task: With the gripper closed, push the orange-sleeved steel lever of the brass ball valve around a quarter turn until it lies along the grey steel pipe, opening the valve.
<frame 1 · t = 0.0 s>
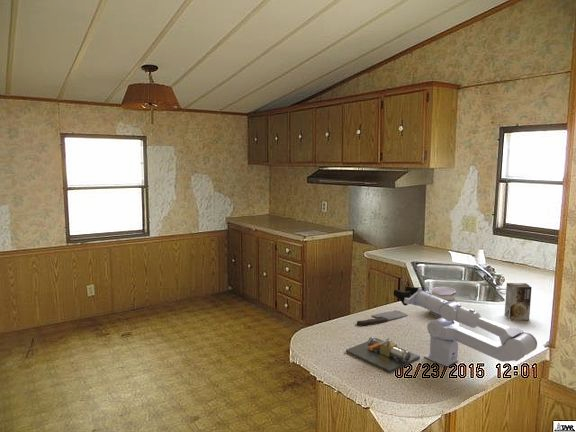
hand: (400, 290, 175), 22 cm above the table, tool horizontal, fingers open, 7 cm apart
coffee box: (516, 318, 206), on the table
lever: (380, 344, 161), point 6 cm above the table, hinge at 0.0°
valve: (388, 356, 165), on the table
cleaver: (380, 319, 204), on the table
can: (442, 313, 211), on the table
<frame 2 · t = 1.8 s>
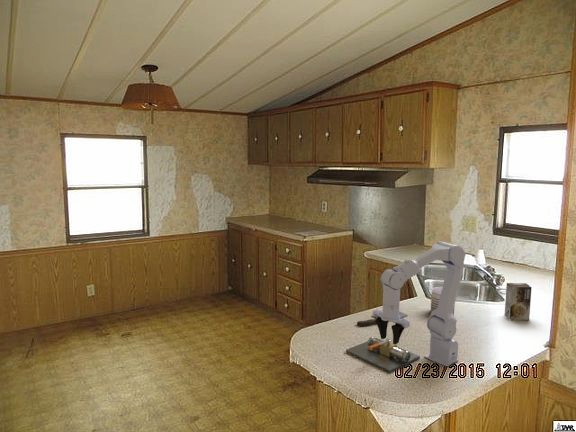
hand: (389, 340, 154), 10 cm above the table, tool pointing down, fingers open, 5 cm apart
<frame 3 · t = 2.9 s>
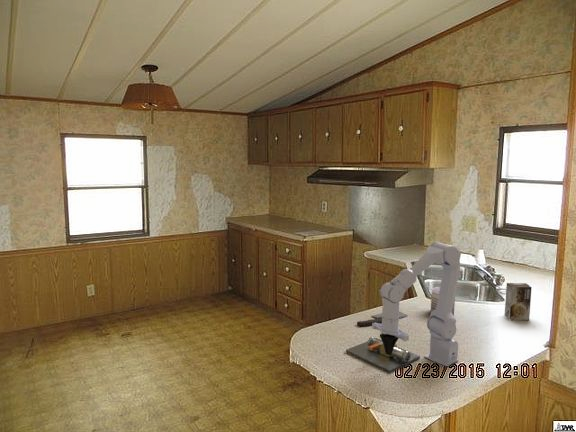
hand: (388, 353, 155), 6 cm above the table, tool pointing down, fingers closed
nothing on the table moved.
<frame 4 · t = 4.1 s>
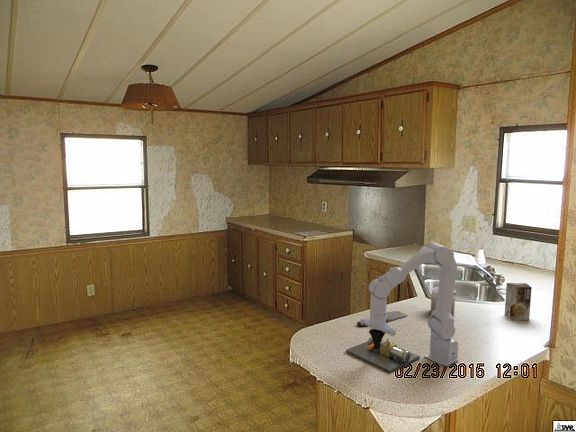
hand: (377, 348, 159), 6 cm above the table, tool pointing down, fingers closed, pressing on lever
lever: (380, 344, 162), point 6 cm above the table, hinge at 4.1°, touching gripper
everything else where it was.
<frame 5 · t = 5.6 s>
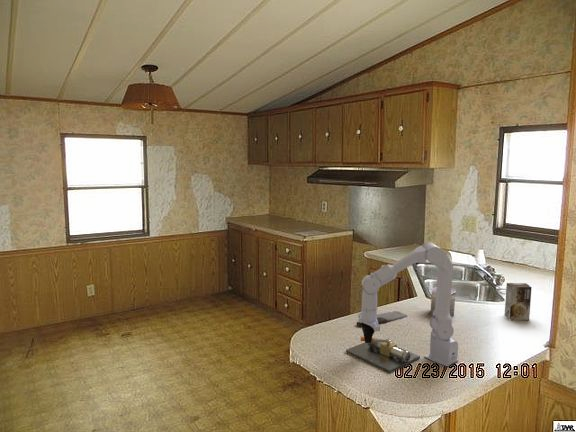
hand: (367, 342, 164), 6 cm above the table, tool pointing down, fingers closed, pressing on lever
lever: (375, 339, 165), point 6 cm above the table, hinge at 49.8°, touching gripper
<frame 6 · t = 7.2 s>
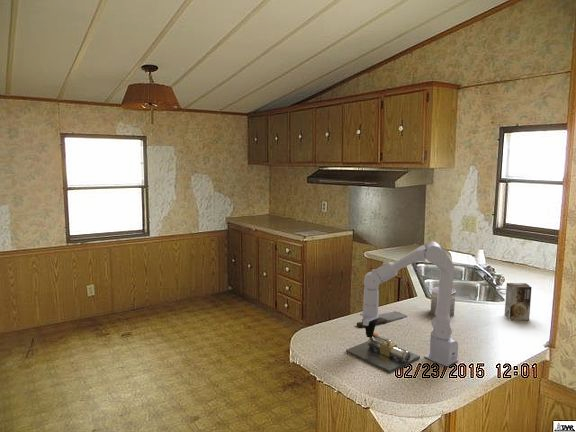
hand: (369, 337, 169), 6 cm above the table, tool pointing down, fingers closed, pressing on lever
lever: (378, 337, 168), point 6 cm above the table, hinge at 88.2°, touching gripper
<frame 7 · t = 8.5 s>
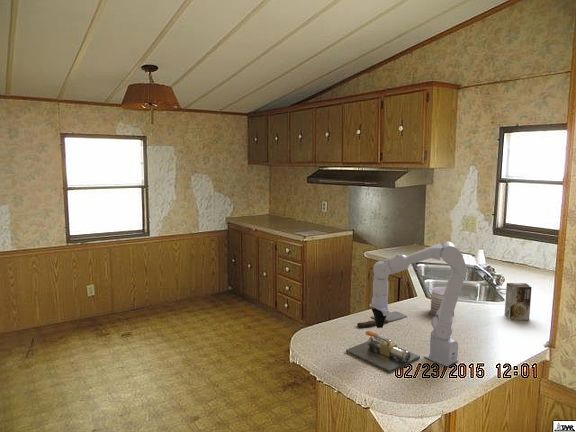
hand: (379, 327, 167), 10 cm above the table, tool pointing down, fingers closed
lever: (378, 337, 168), point 6 cm above the table, hinge at 88.4°
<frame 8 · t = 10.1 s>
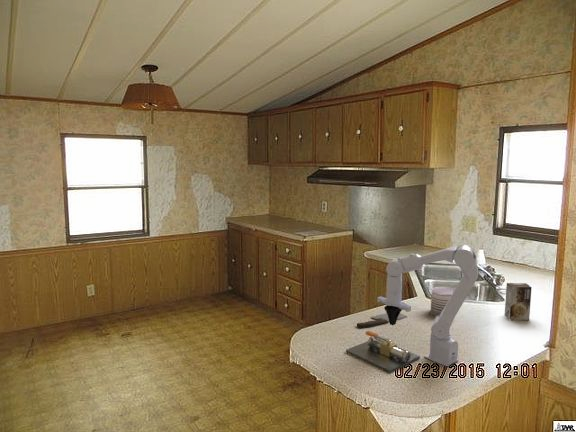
hand: (392, 324, 170), 10 cm above the table, tool pointing down, fingers closed
at the end: lever at +88° (first picture: +0°); the gripper is holding nothing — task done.
